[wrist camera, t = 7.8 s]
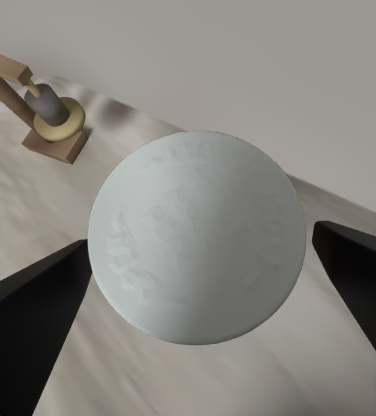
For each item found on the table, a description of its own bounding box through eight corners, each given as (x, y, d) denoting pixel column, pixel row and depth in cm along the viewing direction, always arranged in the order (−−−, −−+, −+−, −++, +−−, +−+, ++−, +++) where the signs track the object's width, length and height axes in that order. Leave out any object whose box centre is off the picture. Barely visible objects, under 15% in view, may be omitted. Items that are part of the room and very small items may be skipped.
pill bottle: (230, 212, 17) (266, 84, 6) (263, 296, 15) (400, 319, 4) (151, 236, 17) (54, 149, 6) (173, 325, 15) (81, 422, 4)
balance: (117, 144, 21) (38, 21, 11) (98, 177, 20) (-6, 72, 10) (23, 115, 23) (-110, -9, 14) (3, 143, 22) (-158, 31, 13)
